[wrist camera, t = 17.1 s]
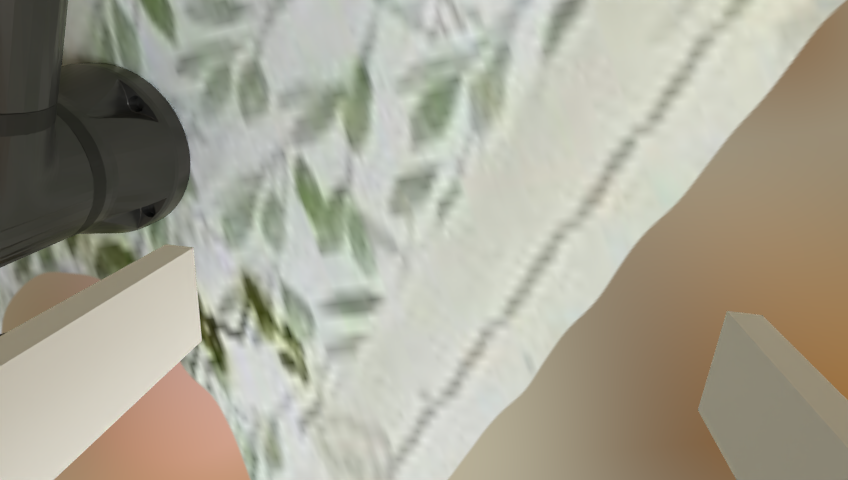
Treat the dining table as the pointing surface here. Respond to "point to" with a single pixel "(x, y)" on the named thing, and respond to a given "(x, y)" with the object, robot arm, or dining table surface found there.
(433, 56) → the dining table surface
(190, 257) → the robot arm
